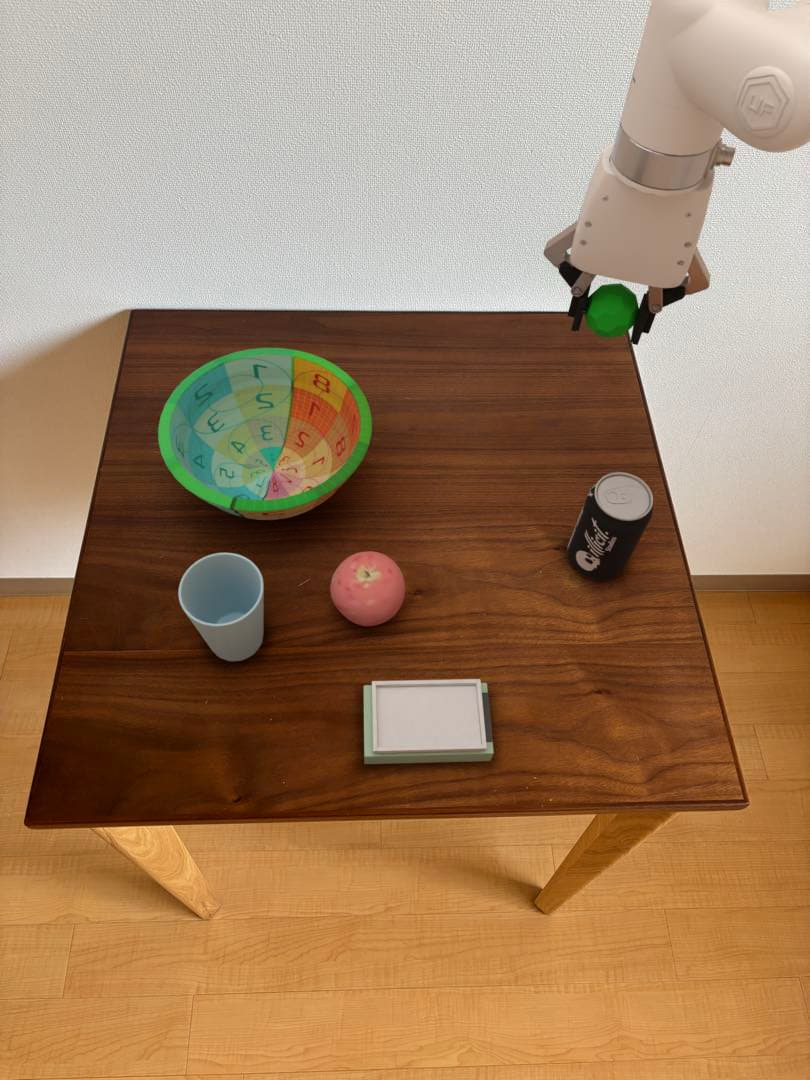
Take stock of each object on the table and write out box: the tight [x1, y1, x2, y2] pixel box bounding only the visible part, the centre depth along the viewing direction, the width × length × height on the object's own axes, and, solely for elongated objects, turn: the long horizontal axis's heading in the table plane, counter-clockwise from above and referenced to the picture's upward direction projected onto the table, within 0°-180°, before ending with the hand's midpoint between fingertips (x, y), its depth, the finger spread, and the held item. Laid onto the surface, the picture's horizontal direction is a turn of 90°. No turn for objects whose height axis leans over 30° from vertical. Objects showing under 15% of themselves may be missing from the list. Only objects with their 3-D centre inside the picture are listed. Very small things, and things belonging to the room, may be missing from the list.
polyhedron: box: [583, 282, 640, 338], centre depth 77 cm, size 5×5×5 cm
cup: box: [177, 552, 265, 662], centre depth 79 cm, size 8×8×10 cm
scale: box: [363, 678, 495, 765], centre depth 77 cm, size 12×7×4 cm, turn 92°
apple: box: [329, 550, 406, 627], centre depth 82 cm, size 7×7×8 cm
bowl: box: [157, 347, 373, 521], centre depth 90 cm, size 22×22×10 cm
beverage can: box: [566, 471, 654, 582], centre depth 85 cm, size 7×7×12 cm
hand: (606, 326), depth 78 cm, fingers closed on polyhedron, 5 cm apart
